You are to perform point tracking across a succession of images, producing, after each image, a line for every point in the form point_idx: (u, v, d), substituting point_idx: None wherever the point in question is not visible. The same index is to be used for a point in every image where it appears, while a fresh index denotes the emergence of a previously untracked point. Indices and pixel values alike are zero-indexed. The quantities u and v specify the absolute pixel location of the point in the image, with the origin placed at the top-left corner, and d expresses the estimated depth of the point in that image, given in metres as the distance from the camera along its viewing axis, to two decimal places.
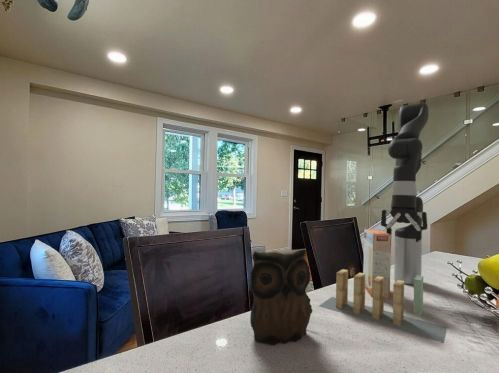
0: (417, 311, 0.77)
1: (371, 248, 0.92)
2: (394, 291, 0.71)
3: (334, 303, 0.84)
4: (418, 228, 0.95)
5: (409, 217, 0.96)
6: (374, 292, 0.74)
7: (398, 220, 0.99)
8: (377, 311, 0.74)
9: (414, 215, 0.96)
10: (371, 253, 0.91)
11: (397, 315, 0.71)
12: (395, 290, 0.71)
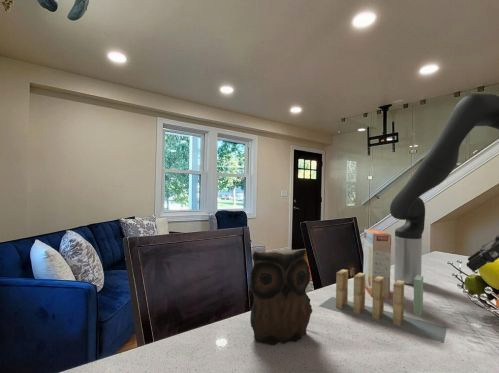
0: (417, 311, 0.77)
1: (371, 248, 0.92)
2: (394, 291, 0.71)
3: (334, 303, 0.84)
4: (490, 255, 0.73)
5: None
6: (374, 292, 0.74)
7: None
8: (377, 311, 0.74)
9: None
10: (371, 253, 0.91)
11: (397, 315, 0.71)
12: (395, 290, 0.71)
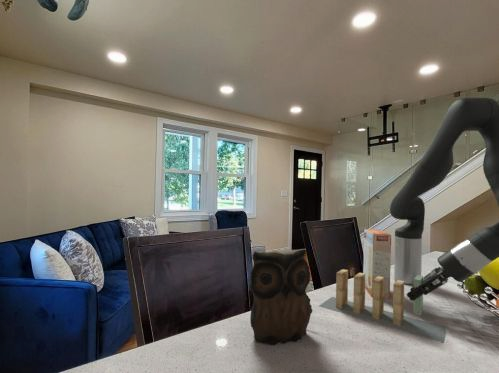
0: (417, 311, 0.77)
1: (371, 248, 0.92)
2: (394, 291, 0.71)
3: (334, 303, 0.84)
4: None
5: None
6: (374, 292, 0.74)
7: None
8: (377, 311, 0.74)
9: None
10: (371, 253, 0.91)
11: (397, 315, 0.71)
12: (395, 290, 0.71)
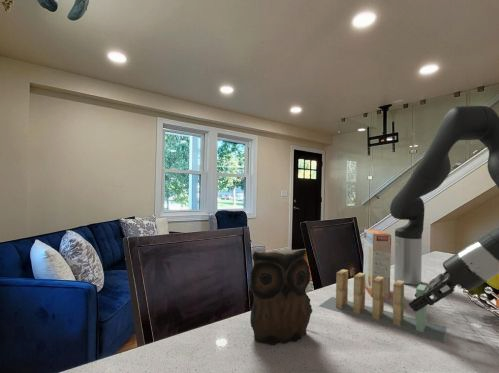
0: (419, 325, 0.68)
1: (371, 248, 0.92)
2: (394, 291, 0.71)
3: (334, 303, 0.84)
4: None
5: None
6: (374, 292, 0.74)
7: None
8: (377, 311, 0.74)
9: None
10: (371, 253, 0.91)
11: (397, 315, 0.71)
12: (395, 290, 0.71)
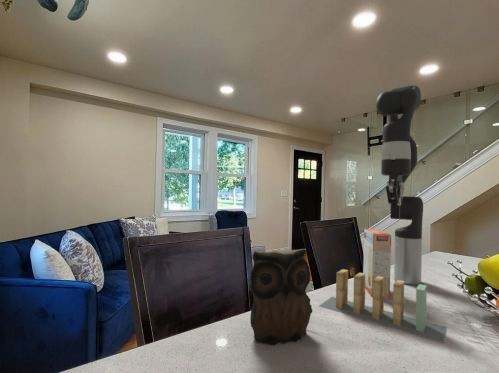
0: (419, 325, 0.68)
1: (371, 248, 0.92)
2: (394, 291, 0.71)
3: (334, 303, 0.84)
4: (400, 202, 0.81)
5: (403, 187, 0.81)
6: (374, 292, 0.74)
7: None
8: (377, 311, 0.74)
9: None
10: (371, 253, 0.91)
11: (397, 315, 0.71)
12: (395, 290, 0.71)
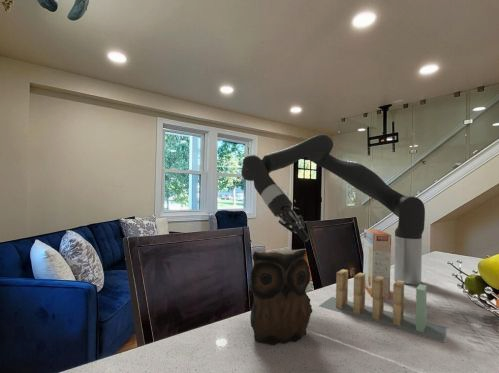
0: (419, 325, 0.68)
1: (371, 248, 0.92)
2: (394, 291, 0.71)
3: (334, 303, 0.84)
4: (302, 226, 0.92)
5: (295, 214, 0.94)
6: (374, 292, 0.74)
7: None
8: (377, 311, 0.74)
9: None
10: (371, 253, 0.91)
11: (397, 315, 0.71)
12: (395, 290, 0.71)
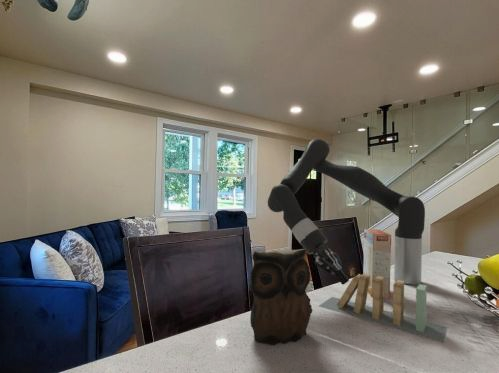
0: (419, 325, 0.68)
1: (371, 248, 0.92)
2: (394, 291, 0.71)
3: (334, 303, 0.84)
4: (339, 266, 0.84)
5: (331, 252, 0.86)
6: (374, 292, 0.74)
7: None
8: (377, 311, 0.74)
9: None
10: (371, 253, 0.91)
11: (397, 315, 0.71)
12: (395, 290, 0.71)
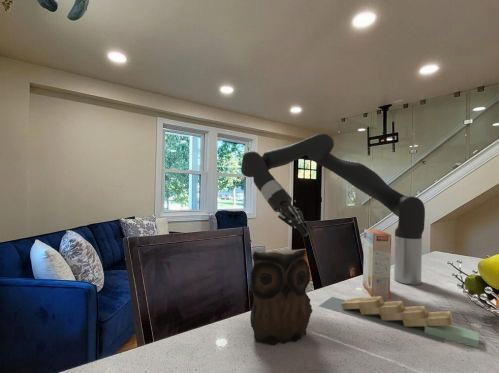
0: (431, 331, 0.66)
1: (371, 248, 0.92)
2: (440, 319, 0.65)
3: (334, 303, 0.84)
4: (301, 221, 0.93)
5: (295, 209, 0.95)
6: (408, 314, 0.69)
7: None
8: (389, 318, 0.72)
9: None
10: (371, 253, 0.91)
11: (414, 324, 0.68)
12: (441, 320, 0.65)
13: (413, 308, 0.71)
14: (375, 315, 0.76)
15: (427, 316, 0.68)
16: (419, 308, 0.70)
